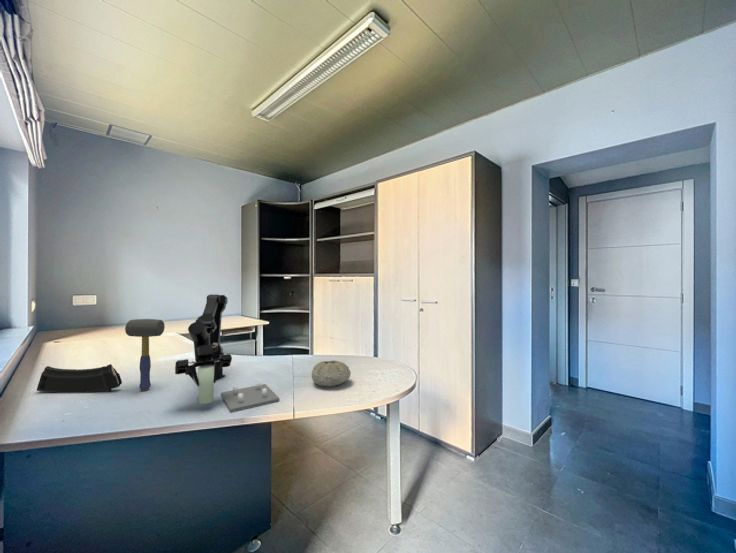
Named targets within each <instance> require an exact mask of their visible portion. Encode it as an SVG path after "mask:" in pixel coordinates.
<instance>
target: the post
mask: <svg viewBox="0 0 736 553" xmlns="http://www.w3.org/2000/svg"><path fill="white" fill-rule="evenodd" d="M197 377H198V382H199V386H197V403H198V404H200V405H202V404H203V405H206V404H210V403H212V402H214V399H215V397H214V395H215V392H214V390H215V383H214V366H213V365H204V366H200V367H197Z"/></svg>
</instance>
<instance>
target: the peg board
mask: <svg viewBox="0 0 736 553" xmlns="http://www.w3.org/2000/svg"><path fill="white" fill-rule="evenodd" d="M238 387H239V386H238V385H234V386H232V390H228V391H222V392H220V396H222V397H221V398H222V400H223V402H224V403H226V404H225V405H227V406H226V407H227V410H228V411H229V413H235V412H239V410H240V411H243V409H244V410H248V409H252V408H256V407H260V406H266V405H269V403H270V404H274V403H279V402H280V397H279V396H278V395H277V394H276V393H275V392H274V391H273V390H272V389H271V388H270V386H268V385H267V384H266V383H264V384H261V381H256V382H255V385H254V386H248V387H243V388H238ZM234 411H235V412H234Z"/></svg>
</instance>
